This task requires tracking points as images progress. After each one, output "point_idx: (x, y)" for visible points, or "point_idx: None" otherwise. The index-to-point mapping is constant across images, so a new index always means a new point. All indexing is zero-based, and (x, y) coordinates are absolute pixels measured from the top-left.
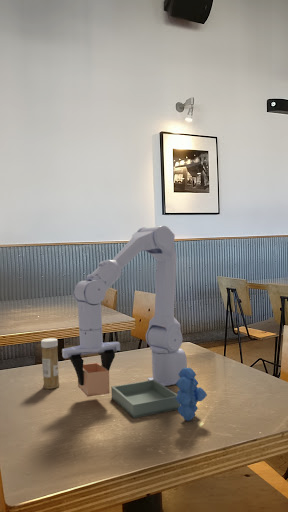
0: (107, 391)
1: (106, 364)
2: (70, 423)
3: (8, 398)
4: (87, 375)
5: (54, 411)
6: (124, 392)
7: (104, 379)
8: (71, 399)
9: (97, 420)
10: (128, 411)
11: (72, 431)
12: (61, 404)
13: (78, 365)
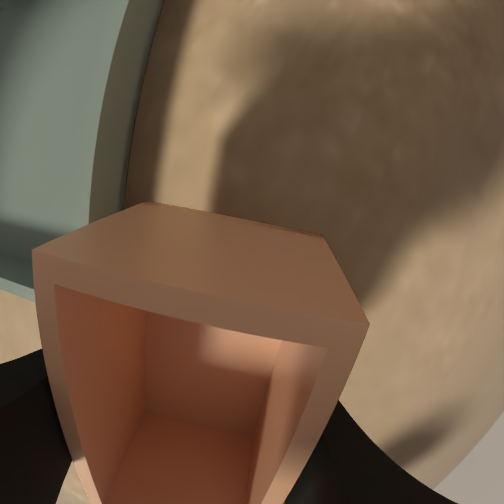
0: (155, 207)
1: (14, 393)
2: (459, 115)
3: (434, 481)
4: (358, 312)
5: (438, 310)
6: None
7: (136, 233)
8: None
9: (340, 44)
10: (152, 22)
11: (475, 38)
12: (367, 372)
13: (412, 499)
